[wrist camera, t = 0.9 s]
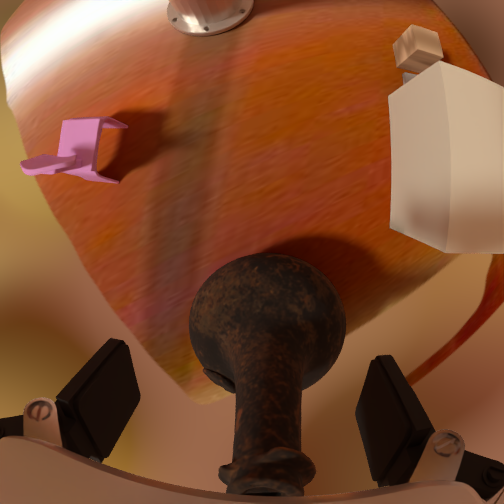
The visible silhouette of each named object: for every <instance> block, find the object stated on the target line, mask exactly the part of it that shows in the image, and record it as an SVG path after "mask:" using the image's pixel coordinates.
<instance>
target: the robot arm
mask: <svg viewBox="0 0 504 504" xmlns="http://www.w3.org/2000/svg"><path fill="white" fill-rule="evenodd" d="M253 4H254V0H169V4H168V8H167V16H168V20H169V21H170V23H171V24H172V26H173V27H174V28H175V29H177V30H178V31H180V32H182V33H184V34H187V35H192V36H210V35H215V34H219V33H222V32H225V31H228V30H230V29H232V28H234V27H235V26H237V25H238V24H240V23H241V22H242V21H244V20H245V19H246V18H247V17H248V15H249V14H250V12H251V10H252V8H253ZM56 399H57V400H56V402H55V403H53V401H52V400H50V399H47V398H37V399H34V400H32V401H30V402H29V403H28V404H27V405H26V406H25V408H24V412H23V415H19V416H14V417H8V418H1V419H0V504H504V464H503V463H500V462H499V461H496V460H493V459H489V458H486V457H483V456H480V455H477V454H474V453H471V452H468V451H466V450H465V443H464V440H463V438H462V437H461V436H460V435H459V434H458V433H456V432H454V431H452V430H447V429H445V430H439V431H435V429H434V428H433V426H432V424H431V422H430V420H429V418H428V416H427V414H426V412H425V411H424V409H423V407H422V405H421V403H420V401H419V400H418V398H417V396H416V394H415V392H414V391H413V389H412V388H411V386H409V384H408V382H407V381H406V379H405V377H404V375H403V374H402V372H401V370H400V368H399V367H398V365H397V363H396V362H395V360H394V358H393V357H392V356H391V355H380V356H376V358H375V360H371V363H370V366H369V369H368V373H367V376H366V379H365V382H364V386H363V389H362V392H361V395H360V398H359V401H358V404H357V407H356V412H355V415H356V420H357V423H358V427H359V430H360V434H361V438H362V441H363V445H364V449H365V452H366V456H367V460H368V464H369V468H370V472H371V476H372V479H373V481H377V483H378V487H383V488H377V489H372V490H365V491H358V492H350V493H341V494H331V495H319V496H297V497H273V496H250V495H238V494H228V493H219V492H212V491H205V490H199V489H193V488H187V487H182V486H177V485H172V484H168V483H164V482H159V481H156V480H152V479H148V478H145V477H141V476H137V475H134V474H131V473H127V472H125V471H122V470H118V469H116V468H113V467H110V466H107V465H104V464H102V461H103V460H104V458H107V457H109V455H110V453H111V451H112V450H113V448H114V446H115V444H116V442H117V441H118V439H119V437H120V435H121V433H122V431H123V430H124V428H125V426H126V424H127V423H128V421H129V419H130V417H131V416H132V414H133V412H134V410H135V408H136V407H137V405H138V403H139V401H140V391H139V387H138V383H137V380H136V376H135V372H134V368H133V363H132V359H131V355H130V350H129V347H128V345H126V344H125V342H124V341H123V340H118V339H113V338H110V339H109V340H108V341H107V342H106V343H105V344H104V345H103V346H102V347H101V348H100V349H99V350H98V351H97V352H96V353H95V354H94V355H93V357H92V358H91V359H90V360H89V361H88V362H87V363H86V364H85V365H84V366H83V368H82V369H81V370H80V371H79V372H78V373H77V374H76V375H75V376H74V377H73V378H72V379H71V380H70V382H69V383H68V384H67V385H66V386H65V387H64V388H63V390H62V391H61V392H60V393H59V394H58V395H57V396H56ZM89 458H90V459H89ZM91 459H92V460H91ZM96 461H97V462H96ZM384 486H389V487H384Z"/></svg>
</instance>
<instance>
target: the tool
mask: <svg viewBox="0 0 504 504" xmlns="http://www.w3.org/2000/svg"><path fill="white" fill-rule="evenodd" d="M393 49H394V54H395V60H396V66H397V68H402V69H406V70H410V71H414V72H418V73H421V72H423V71H424V70H426V69H427V68H429V67H430V66H432V65H433V64H435V63H436V62H437V61H439V60H440V59H442V58H443V53H442V48H441V44H440V41H439V37H438V33H437V32H434V31H431V30H428V29H425V28H422V27H419V26H416V25H412V24H411V25H410V26H409V28H408V29H407V30H406V31H405V32H404V33H403V34H402V35H401V36H400V37H399V38H398V40H397V41H396V42H395V43H394V44H393ZM402 76H403V83H404V84H406V83H407V82H409V81H410V80H411V79H413V78H414V77H416V76H417V75H414V74H410V73H406V72H405V73H403V74H402Z"/></svg>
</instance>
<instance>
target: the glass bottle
mask: <svg viewBox="0 0 504 504" xmlns="http://www.w3.org/2000/svg"><path fill="white" fill-rule="evenodd" d="M345 332H346V318H345V311H344V307H343V304H342V301H341V299H340V296H339V294H338V292H337V290H336V289H335V287H334V286H333V284H332V283H331V282H330V280H329V279H328V278H327V277H326V276H325V275H324V274H323V273H322V272H321V271H319V270H318V269H317V268H315V267H314V266H312V265H310V264H309V263H307V262H305V261H303V260H301V259H298V258H295V257H292V256H289V255H284V254H278V253H258V254H253V255H248V256H244V257H241V258H238V259H236V260H234V261H231V262H229V263H227V264H226V265H224V266H222V267H221V268H219V269H218V270H217V271H215V272H214V273H213V274H212V275H211V276H210V277H209V278H208V279H207V280H206V281H205V282H204V284H203V285H202V286H201V288H200V289H199V291H198V292H197V294H196V297H195V299H194V301H193V304H192V307H191V312H190V318H189V333H190V339H191V343H192V347H193V349H194V351H195V354H196V356H197V358H198V359H199V361H200V363H201V364H202V366H203V367H204V369H203V372H204V373H205V375H207V376H208V377H209V379H210V380H211V381H213V382H214V383H215V384H217V385H219V386H221V387H223V388H224V389H225V390H227V391H229V392H231V393H233V394H234V393H236V413H235V414H236V415H235V417H236V418H235V435H234V444H233V459H232V463H230V464H228V465H223V466H220V468H219V474H218V476H219V479H220V480H221V481H222V482H223V483H225V484H226V485H228V487H227V490H226V493H228V494H238V495H250V496H273V497H297V496H304V489H303V487H304V486H305V485H307V484H308V483H310V482H311V481H312V479H313V478H314V476H315V474H316V469H315V465H314V463H313V462H312V461H311V460H310V458H309V457H307V456H306V455H305V454H304V453H302V452H301V397H302V390H304V389H306V388H308V387H310V386H311V385H313V384H315V383H316V382H317V381H318V380H319V379H321V378H322V377H323V376H324V375H325V374H326V373H327V372H328V371H329V370H330V369H331V367H332V366H333V364H334V363H335V362H336V360H337V358H338V356H339V354H340V352H341V349H342V346H343V343H344V339H345Z"/></svg>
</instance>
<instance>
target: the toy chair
mask: <svg viewBox="0 0 504 504" xmlns="http://www.w3.org/2000/svg"><path fill="white" fill-rule="evenodd" d="M102 128H128V125H126V124H124V123H122V122H119V121H117V120H115V119H113V118H111V117H83V118H72V119H69V120H63V124H62V129H61V137H60V144H59V150H58V155H57V156H53V155H46V154H43V155H40V156H37V157H34V158H31V159H28V160H24V161H21V162H20V166H21V168H22V170H23V172H24V173H25V174H27V175H38V174H41V173H42V174H56V173H60V172H63V173H67V174H72V175H76V176H80V177H82V178H84V179H85V180H91V181H100V182H109V183H118V184H119V181H117V180H114V179H110V178H107V177H104V176H101V175H99V174H98V172H97V169H96V163H97V153H98V145H99V140H100V136H101V132H102Z"/></svg>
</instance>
